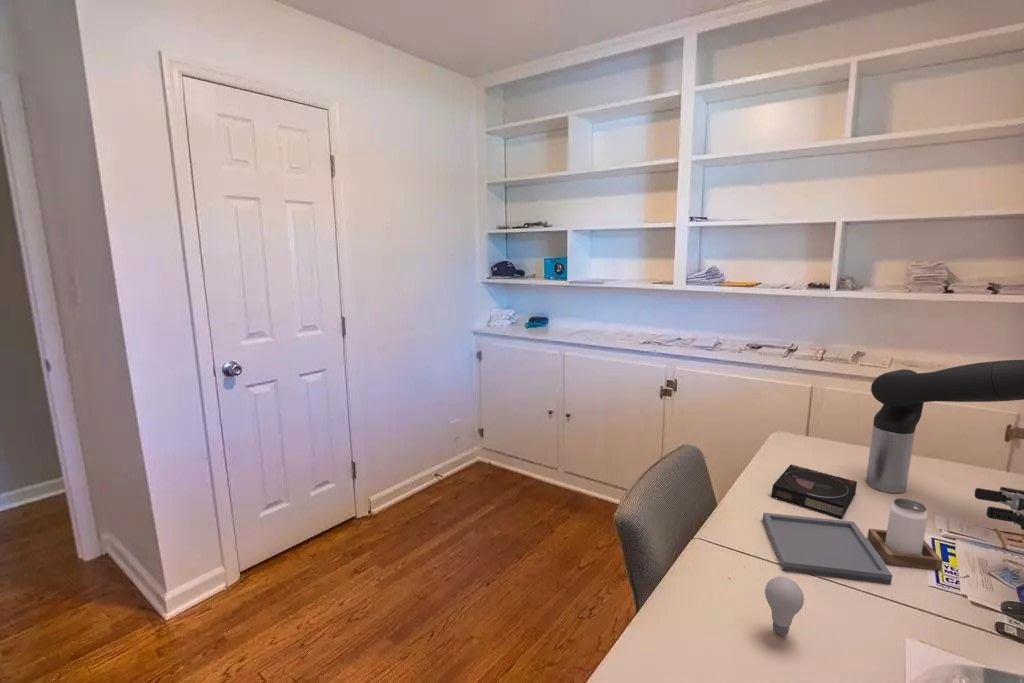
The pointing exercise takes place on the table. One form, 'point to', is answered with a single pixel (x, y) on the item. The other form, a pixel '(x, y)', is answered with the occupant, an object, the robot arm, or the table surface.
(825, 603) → the table surface
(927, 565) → the holder
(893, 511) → the can
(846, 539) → the tray
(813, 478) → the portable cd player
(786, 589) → the lightbulb
